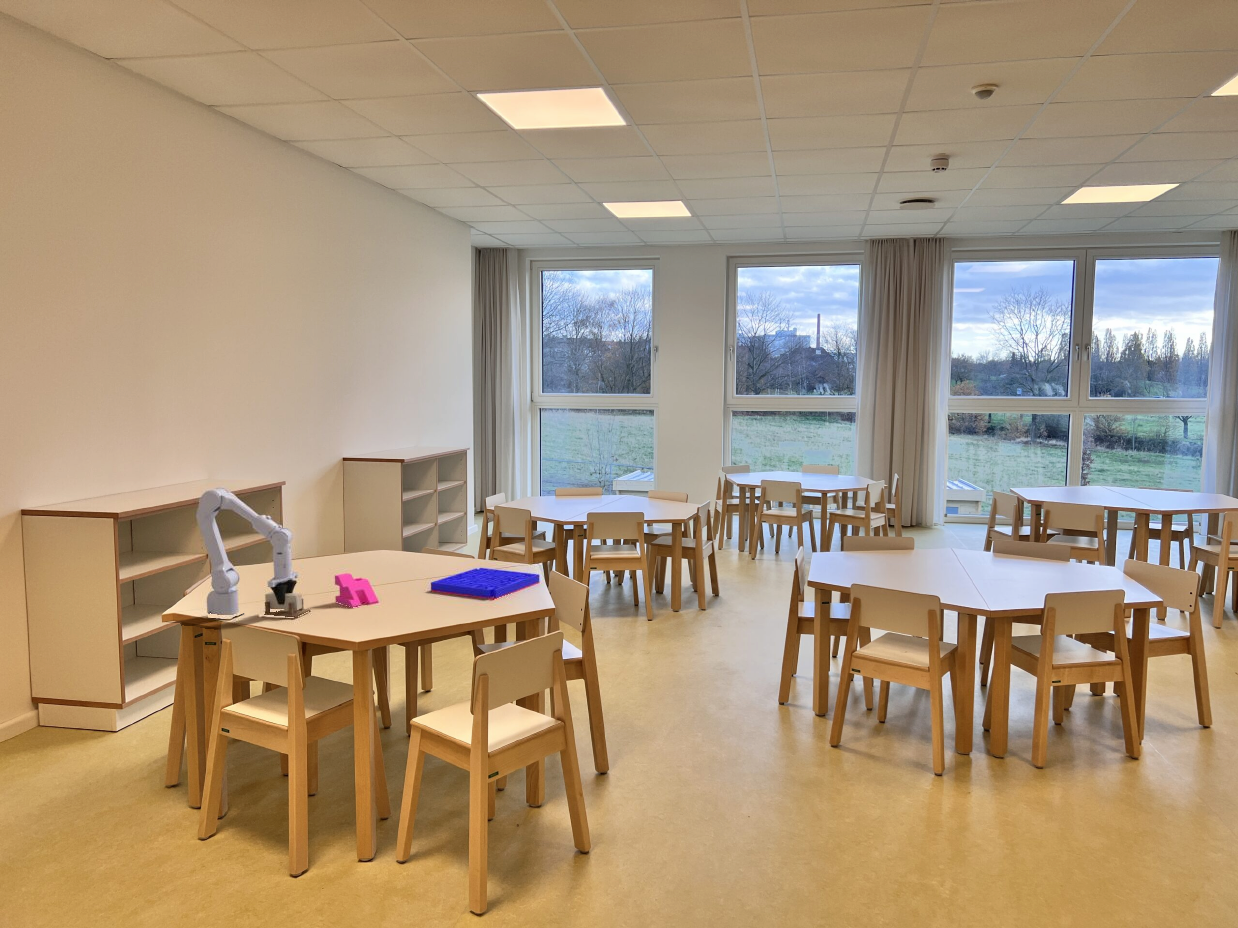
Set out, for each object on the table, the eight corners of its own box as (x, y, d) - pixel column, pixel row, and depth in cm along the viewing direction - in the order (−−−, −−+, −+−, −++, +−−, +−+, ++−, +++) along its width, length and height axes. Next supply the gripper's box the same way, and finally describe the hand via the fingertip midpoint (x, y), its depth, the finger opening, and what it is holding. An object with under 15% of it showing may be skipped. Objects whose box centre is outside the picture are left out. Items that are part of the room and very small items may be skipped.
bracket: (335, 603, 301) (334, 575, 301) (361, 597, 309) (360, 570, 308) (352, 608, 293) (351, 580, 292) (378, 603, 301) (377, 575, 300)
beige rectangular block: (265, 608, 285) (265, 594, 285) (271, 606, 288) (270, 592, 288) (297, 610, 283) (296, 595, 282) (302, 607, 286) (301, 593, 285)
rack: (258, 616, 283) (257, 602, 282) (274, 610, 292) (274, 596, 291) (295, 618, 280) (294, 604, 279) (310, 612, 289) (309, 597, 288)
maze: (431, 592, 318) (430, 582, 318) (479, 576, 344) (478, 567, 344) (494, 601, 304) (494, 590, 304) (539, 584, 330) (539, 574, 330)
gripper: (280, 569, 276) (281, 608, 278) (305, 560, 290) (306, 598, 292) (261, 568, 278) (263, 607, 279) (287, 559, 292) (289, 597, 293)
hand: (284, 602), depth 285 cm, fingers closed on beige rectangular block, 3 cm apart
